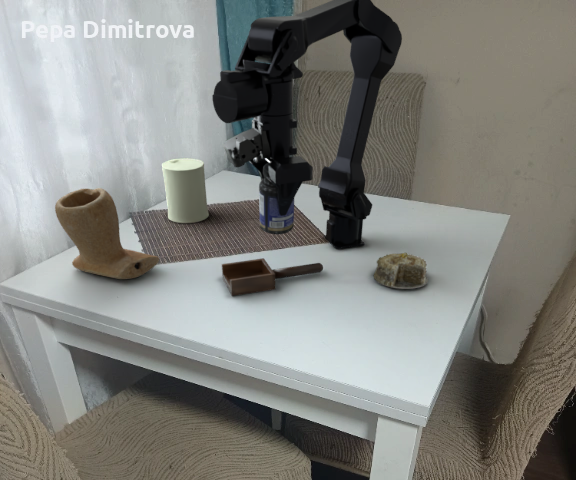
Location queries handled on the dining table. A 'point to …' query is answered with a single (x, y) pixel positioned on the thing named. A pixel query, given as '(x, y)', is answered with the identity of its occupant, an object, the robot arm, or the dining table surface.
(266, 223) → the pill bottle
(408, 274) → the cake
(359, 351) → the dining table surface
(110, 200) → the clay pipe bowl
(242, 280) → the scoop
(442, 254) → the dining table surface
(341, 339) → the dining table surface
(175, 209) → the can
